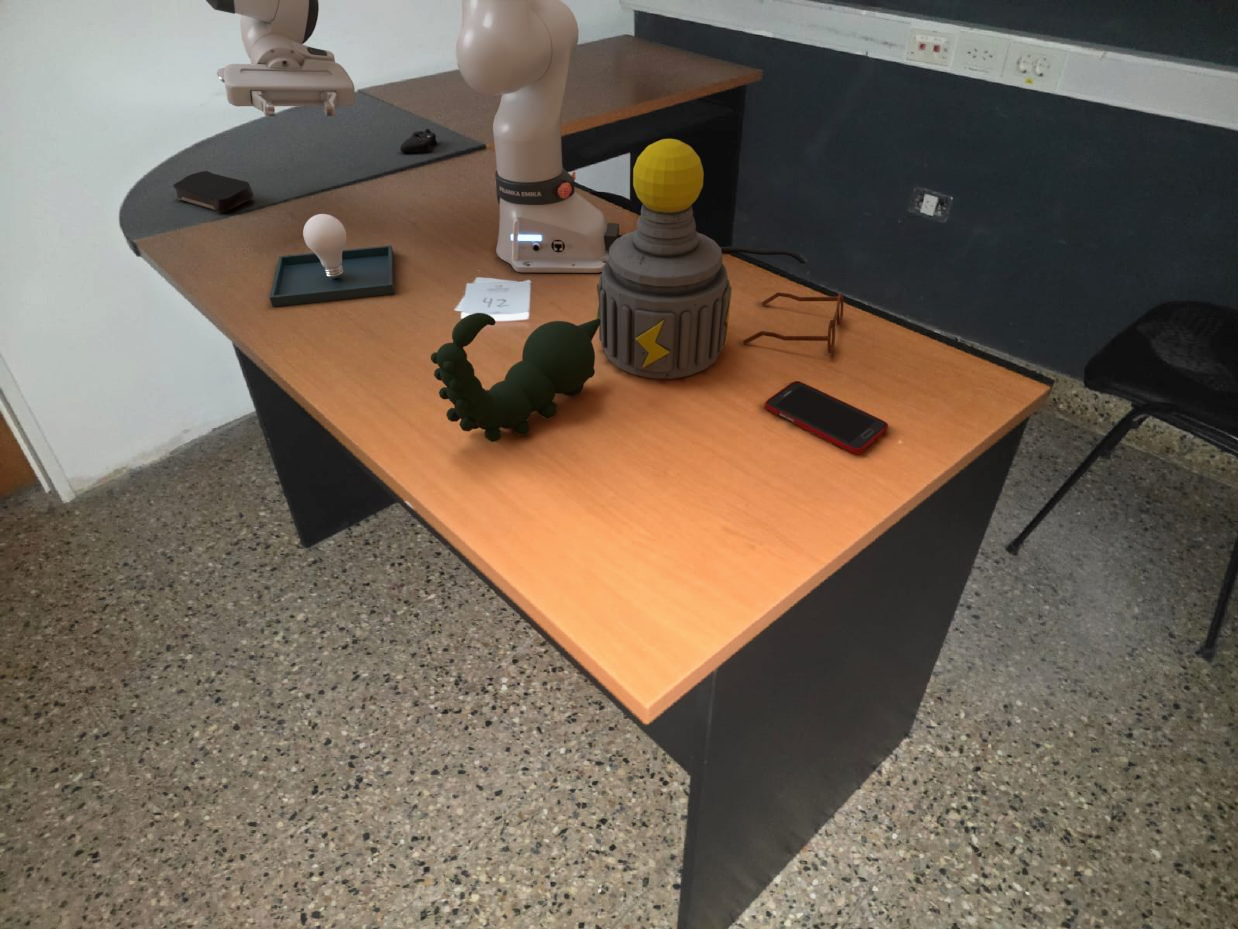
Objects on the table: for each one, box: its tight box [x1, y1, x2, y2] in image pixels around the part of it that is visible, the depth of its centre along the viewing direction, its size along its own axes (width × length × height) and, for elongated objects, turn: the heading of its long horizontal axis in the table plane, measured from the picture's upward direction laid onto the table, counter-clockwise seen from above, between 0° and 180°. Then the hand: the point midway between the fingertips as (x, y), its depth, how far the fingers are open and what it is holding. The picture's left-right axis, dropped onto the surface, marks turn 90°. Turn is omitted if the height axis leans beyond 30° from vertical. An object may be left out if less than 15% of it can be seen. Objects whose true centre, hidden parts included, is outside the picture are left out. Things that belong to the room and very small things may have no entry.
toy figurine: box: [430, 312, 601, 443], centre depth 99 cm, size 9×19×25 cm
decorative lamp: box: [595, 138, 733, 380], centre depth 108 cm, size 19×19×30 cm
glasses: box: [742, 291, 844, 354], centre depth 119 cm, size 13×13×5 cm
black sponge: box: [173, 170, 254, 213], centre depth 159 cm, size 16×8×4 cm, turn 59°
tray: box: [269, 244, 395, 308], centre depth 134 cm, size 19×15×2 cm
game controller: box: [399, 128, 438, 154], centre depth 183 cm, size 10×5×6 cm
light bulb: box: [302, 213, 347, 279], centre depth 131 cm, size 7×7×11 cm
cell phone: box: [764, 380, 889, 455], centre depth 103 cm, size 8×15×1 cm, turn 46°
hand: (301, 112), depth 128 cm, fingers open, 8 cm apart
